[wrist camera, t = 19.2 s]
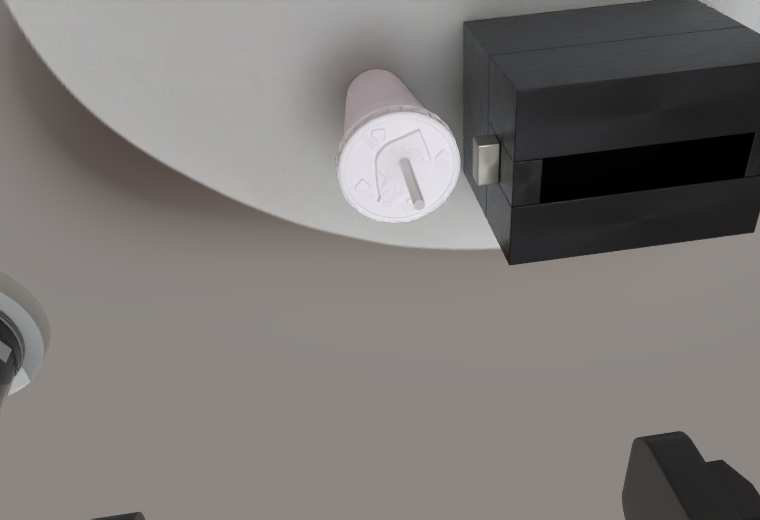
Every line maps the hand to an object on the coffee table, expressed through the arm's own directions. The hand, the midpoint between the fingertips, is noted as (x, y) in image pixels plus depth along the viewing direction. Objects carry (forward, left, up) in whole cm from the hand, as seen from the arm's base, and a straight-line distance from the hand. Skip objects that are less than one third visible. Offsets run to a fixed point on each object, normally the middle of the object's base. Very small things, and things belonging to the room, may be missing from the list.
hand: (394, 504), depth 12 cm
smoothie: (+4, -7, -34) cm, 35 cm away
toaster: (+16, -8, -34) cm, 39 cm away
